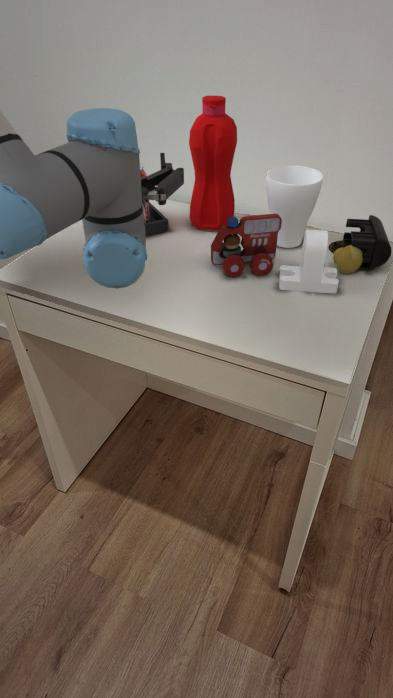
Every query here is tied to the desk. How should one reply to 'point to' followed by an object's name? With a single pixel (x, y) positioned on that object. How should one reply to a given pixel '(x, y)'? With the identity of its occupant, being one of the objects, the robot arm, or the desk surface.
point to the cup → (292, 200)
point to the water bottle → (212, 165)
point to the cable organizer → (310, 267)
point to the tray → (156, 222)
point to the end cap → (369, 241)
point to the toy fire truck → (246, 244)
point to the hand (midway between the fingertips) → (124, 161)
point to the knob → (348, 259)
